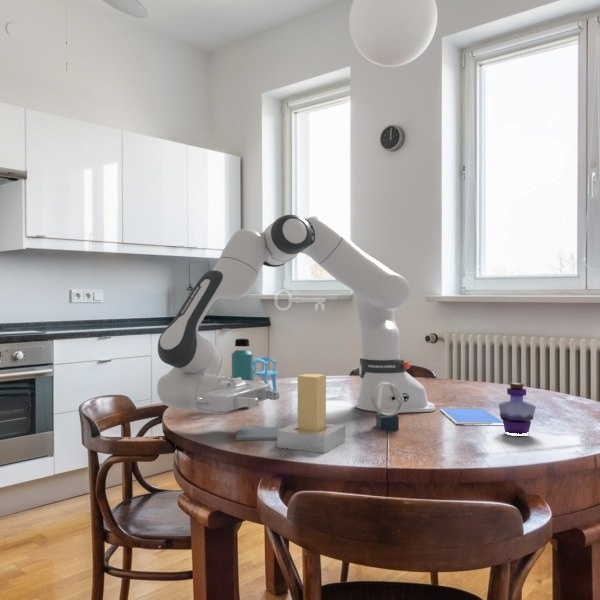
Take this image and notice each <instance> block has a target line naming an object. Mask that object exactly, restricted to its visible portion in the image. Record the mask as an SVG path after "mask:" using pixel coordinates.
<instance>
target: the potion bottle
mask: <svg viewBox="0 0 600 600" xmlns="http://www.w3.org/2000/svg"><path fill="white" fill-rule="evenodd" d="M524 385H525V384H524V383H521V382H510V383H509V387H506V393H507V395H509V397H510V398H509V400H506V401H505V400H504V401H502V402H501V401H500V402H498V409H499V417H500V420H501V421H503V424H504V426H503V428H504V433H505V432H509V433H517V434H518V433H519V434H522V433H527V432H530V428H531V424H532V421H534V416H535V411H536V405H535V404H534V403H530V402H527V401H524V396H527V388H525V387H524Z"/></svg>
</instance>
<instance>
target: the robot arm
mask: <svg viewBox="0 0 600 600" xmlns="http://www.w3.org/2000/svg"><path fill="white" fill-rule="evenodd" d="M299 253H301V254H304V255H306V256H308V257H310V259H312V260H313V261H314V262H316V263H317V264H318V265H319V266H320V267H321V268H322V269H324V271H326V273H328V274H329V275H330V276H331V277H332V278H334V279H335V280H336V281H337V282H339V283H341V284H343V285H344V286H345V287H348V288H349V289H351V290H352V291H353V299H354V300H355V302H356V307H357V309H356V310H357V314H358V315H357V316H358V318H359V319H358V321H359V324H360V334H361V335H360V337H361V338H360V340H361V341H360V342H361V344H360V345H361V347H360V348H361V350H360V351H361V353H360V355H361V357H360V358H359V365H358V367H359V368H358V369H359V372H358V373H359V377H360V382H359V383H360V384H359V391H358V395H357V400H356V403H355V407H356V408H357V409H360V410H363V411H370V412H376V413H378V412H377V410H376V409H375V407H374V406H373V403H372V401H371V393H372V390H373V389H374V387H375V386H376V385H378V384H380V383H383V382H388V383H391V384H393V383H394V384H395V385H396V386H397V387H398V389H399V390H400V392H401V394H402V395H403V397H404V401H403V407H402V409H401V410H400V411H399V413H400V414H401V413H403V414H404V413H427V412H429V413H430V412H434V411H435V410H436V405H435V404H434V403H433V402H431V401H428V397H427V396H428V395H427V392H426V388H425V386H424V385H423V384H422V383H421V382H419V381H418V380H417V379H416V378H415V377H413V376H412V375H411V374H409V373H408V370H409V369H410V368H411V366H412V365H411V363H410V361H406V360H403V359H402V358H400V357H401V356H400V355H401V354H400V352H401V348H400V344H401V343H400V340H401V339H400V336H401V335H400V334H401V333H400V329H399V327H398V325H397V323H396V318H395V313H394V311H396V310H399V309H401V308H402V307H404V306H405V305H406V304H408V302H409V300H410V297H411V292H412V290H411V285H410V283H409V282H408V280H407V278H405V277H404V276H402V275H400V274H399V273H397V272H395V271H393V270H392V269H390V268H389V267H388V266H387V265H384V263H382V262H380V261H379V260H377V259H375V258H374V257H372V256H371V255H369V254H367V253H366V252H365V251H364V250H362V249H361V248H360V247H359V246H357V244H355V243H354V242H353V241H352V240H351V239H350V238H348V237H347V235H345V234H344V233H343V232H341V231H340V230H339V229H337V228H336V227H335V226H333V225H332V224H331V223H329V222H328V221H326V220H325V219H323V218H320V217H318V216H309V217H307V218H303V217H302V216H298V215H296V214H285V215H282V216H279V217H278V218H277V219H275V221H273V222H272V223H270V224H269V225H268V226H267V227H266V228H265V230H264V231H263V232H258V231H256V230H254V229H252V228H241V229H238V230H237V231H236V232H234V233H233V234H232V236H231V237H230V239H229V241H228V242H227V244H226V245H225V247H224V248H223V250H222V252H221V254H220V256H219V258H218V261H217V262H216V264H215V266H214V268H212V270H208V271H206V272H205V273H204V274H203V275H202V276H201V277H200V279H198V281H197V282H196V284H195V285H194V286H193V288H192V290H191V291H190V293H189V295H187V298H186V299H185V301H184V302H183V304H182V306H181V307H180V309H179V310H178V312H177V314H176V316H174V318H173V319H172V321H171V322H170V324H169V325H167V327H165V329H164V330H163V331H162V333H160V335H159V338H158V342H157V354H158V357H159V359H160V360H161V361H162V363H164V364H167V365H169V366H171V367H173V368H172V369H171V370H169V371H168V372H167V373H165V374H164V375H162V376H160V378H159V380H158V381H157V387H156V392H157V396H158V399H159V400H160V402H161V403H163V404H164V405H165V406H167V407H168V408H171V409H176V410H180V411H188V412H192V411H199V412H202V413H208V414H217V415H218V414H219V415H223V414H225V413H228V412H232V411H234V410H238V409H241V408H248V407H249V408H251V407H252V408H255V407H258V406H259V405H260V404H259V403H261V402H263V401H266V400H271V401H277V400H279V399H280V392H279V391H278V390H277V391H272V390H273V389H272V390H270V387H271V385H270V383H269V384H267V383H264V382H261V381H255V380H253V381H250V380H242V378H241V377H232V376H229V377H228V376H224V375H219V372H220V370H221V367H222V363H223V356H222V352H221V350H220V349H219V347H217V346H216V345H214V344H213V343H212V342H211V341H209V340H208V339H206V338H205V337H203V336H202V335H201V334H200V333H199V327H200V325H201V323H202V321H203V320H204V318H205V317H206V315H207V313H208V312H209V310H210V308H211V307H212V305H213V304H214V302H215V301H216V300H218V299H225V300H239V299H241V298H242V299H243V298H244V297H246V296H247V295H248V294H249V293H250V292H251V290H253V287H254V285H255V283H256V281H257V278H258V275H259V274H260V270H261V268H262V266H266V267H269V268H270V267H271V268H277V267H281V266H284V265H285V264H287V263H289V262H290V261H292V260H294V259H295V258H296V257H297V256H298V255H299ZM374 396H375V400H376V403H377V405H378V407H379V408H380V409H381V412H383V413H391V412H393V411H395V410H396V409H397V407H398V406H399V403H398V401H397V400H396V399H395V397H394V396H393V394H392V392H391V390H390V386H389V385H384V386H381V387H380V388H378V389H377V390H376V392H375V394H374ZM399 413H398V414H399Z"/></svg>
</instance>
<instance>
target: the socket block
mask: <svg viewBox="0 0 600 600" xmlns="http://www.w3.org/2000/svg"><path fill="white" fill-rule="evenodd" d="M276 441H277V443H276V444H277V445H276V446H277V448H281V449H287V448H288V450H295V449H296V450H295V451H302V450H303V451H304V452H311V453H317V454H318V453H319V454H326V453H328V452H330V451H331V450H333V449H335V448H336V447H338V446H340V445H342V444H343V443H345V442H346V425H342V424H334V423H333V424H331V423H330V424H329V423H326V429H325V430H323V431H321V432H319V433H318V432H310V431H301V430H298V421H297V422H294V423H293V424H290V425H288V426H285V427H283V428H281V429H280V430H278V431H277V440H276Z"/></svg>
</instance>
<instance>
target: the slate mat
mask: <svg viewBox="0 0 600 600" xmlns="http://www.w3.org/2000/svg"><path fill="white" fill-rule="evenodd" d="M280 429H282V426H240V427H239V428H238V430H237V433H236V435H235V440H236V441H243V440H244V441H246V440H247V441H252V440H253V441H264V440H265V441H274V440H276V441H277V431H278V430H280Z"/></svg>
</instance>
